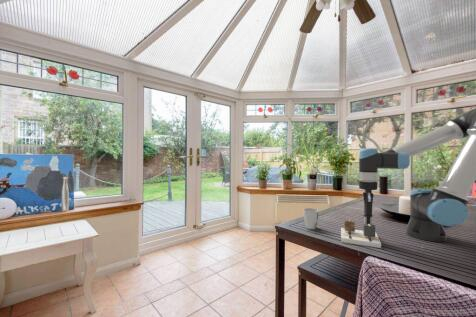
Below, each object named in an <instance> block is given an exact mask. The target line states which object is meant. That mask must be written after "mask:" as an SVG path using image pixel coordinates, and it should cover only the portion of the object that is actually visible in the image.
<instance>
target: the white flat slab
mask: <svg viewBox="0 0 476 317" xmlns="http://www.w3.org/2000/svg"><path fill="white" fill-rule="evenodd" d="M340 239H341V240H340V241H341V243H344V244H345V243H346V244H351V245H359V246H364V247H365V246H366V247H372V248H377V249H378V248H379V249H382V243H381V240H380V238H379V236H378V234H377V232H376V231H375V237H369V236H364V229H363V230H361V229H360V230H359V229H355V232H351V231H345V227H340Z"/></svg>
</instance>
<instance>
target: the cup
mask: <svg viewBox="0 0 476 317" xmlns="http://www.w3.org/2000/svg"><path fill="white" fill-rule="evenodd" d="M302 214H303V219H304V224H305V228H306V229H308V230H315V229H317V226H318V221H319V209H318V208H313V207H312V208H310V207H308V208H303V212H302Z"/></svg>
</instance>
